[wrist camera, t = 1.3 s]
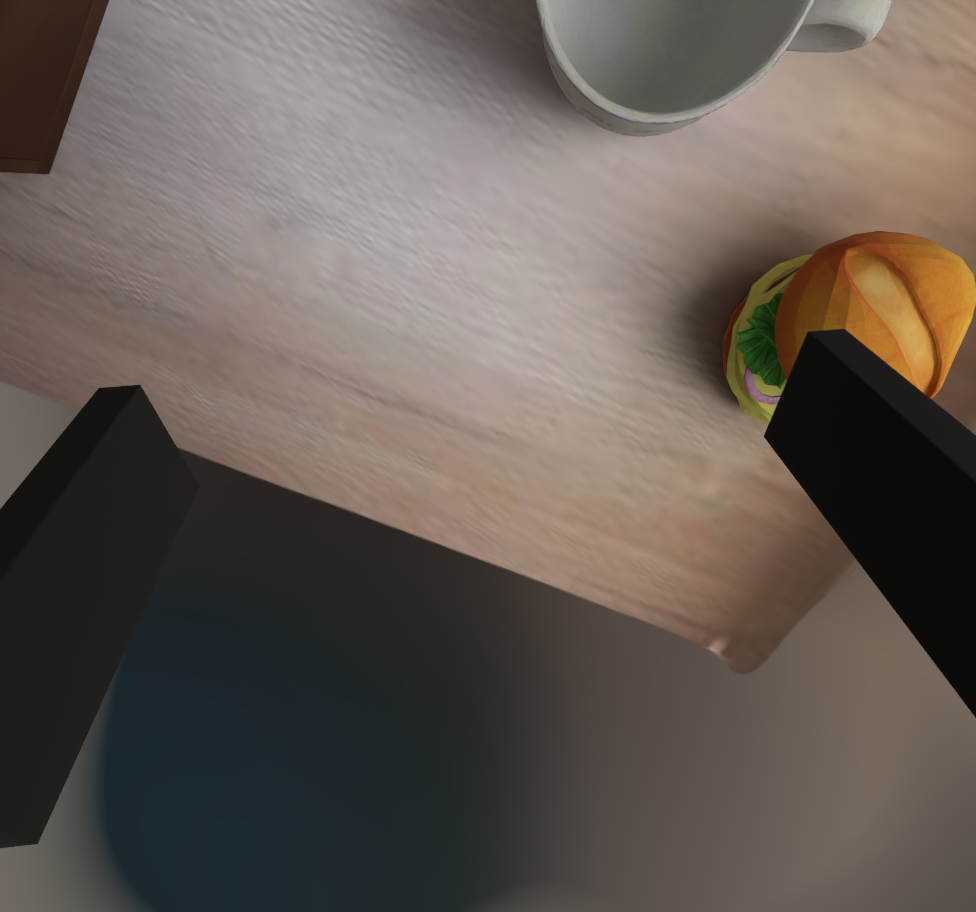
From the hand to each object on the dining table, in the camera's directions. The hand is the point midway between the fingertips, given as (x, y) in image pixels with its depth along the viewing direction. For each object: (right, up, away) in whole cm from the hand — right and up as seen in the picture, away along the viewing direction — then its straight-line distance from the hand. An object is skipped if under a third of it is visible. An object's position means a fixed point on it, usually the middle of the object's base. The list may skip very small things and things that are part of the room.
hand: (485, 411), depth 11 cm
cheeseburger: (+19, +7, +21) cm, 29 cm away
